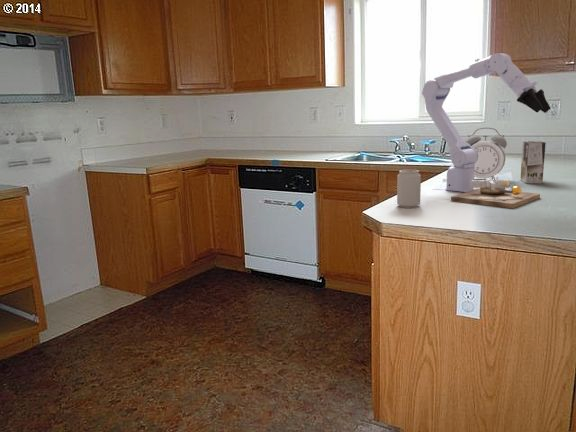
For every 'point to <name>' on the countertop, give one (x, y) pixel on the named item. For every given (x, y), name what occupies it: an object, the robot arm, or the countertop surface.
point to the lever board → (495, 198)
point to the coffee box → (532, 161)
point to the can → (408, 188)
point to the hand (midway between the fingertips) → (543, 110)
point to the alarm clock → (488, 154)
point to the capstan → (494, 186)
